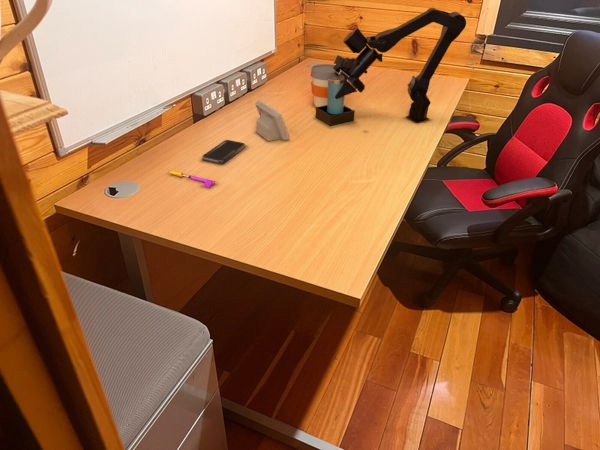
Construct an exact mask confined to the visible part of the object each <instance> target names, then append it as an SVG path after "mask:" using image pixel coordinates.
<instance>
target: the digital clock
mask: <svg viewBox="0 0 600 450" xmlns="http://www.w3.org/2000/svg"><path fill="white" fill-rule="evenodd" d="M255 108H256V110H257V113H258V115H259V118H257V119H256V122H255V127H256V128H255V129H256V133H257V134H258V135H259V136H261V137H262V138H263V139H265V140H266V141H268V142H271V141H276V140H282V141H289V140H290V134H289V131H288V129H287V125H286V124H285V121H284V117H283V115H282V113H281V112H280V111H278V110H277V109H275V108H274V107H272V106H271V105H269V104H267V103H266V102H264V101H263V100H256V101H255Z"/></svg>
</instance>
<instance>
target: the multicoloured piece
mask: <svg viewBox="0 0 600 450" xmlns="http://www.w3.org/2000/svg"><path fill="white" fill-rule="evenodd" d="M169 174H171V175H174V176H177V177H181V178H183V177H187V178H188V179H190V180H194V181H198V182H201V183H204V184H203V187H204V188H208V189H210V187H211V186H212V187H213V186H214V185H215V184H216V181H215V180H212V179H208V178H207V179H206V178H203V177H198V176H195V175H185V174H184V172H178V171H175V170H170V171H169Z"/></svg>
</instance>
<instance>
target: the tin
mask: <svg viewBox="0 0 600 450" xmlns="http://www.w3.org/2000/svg"><path fill="white" fill-rule="evenodd" d="M344 79H345V77H343V76H330V77H328V97H327V112H328V113H330V114H339V113H343V110H344V106H345V96H343V97H341V98H338V99H336V98H335V96H336V94H337V93H338V91H339V90H340V89H341V88H342V86H343V85H344Z"/></svg>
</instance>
